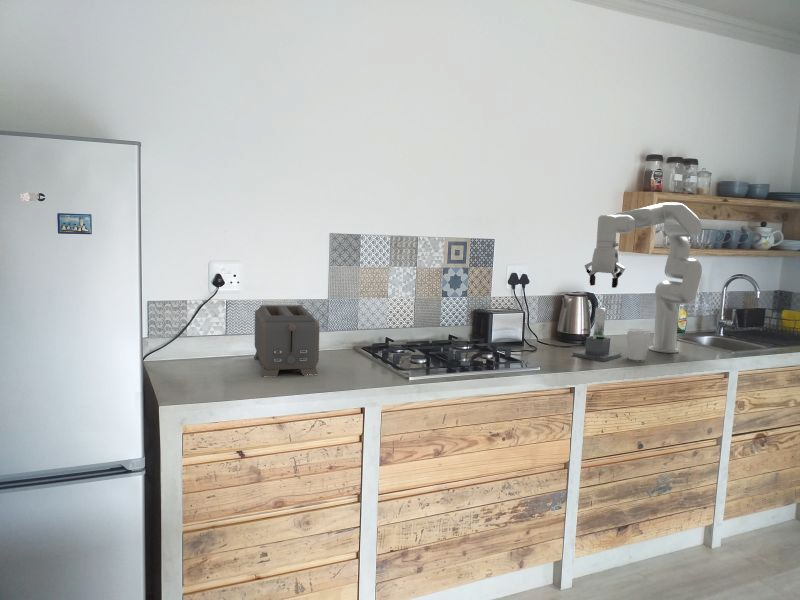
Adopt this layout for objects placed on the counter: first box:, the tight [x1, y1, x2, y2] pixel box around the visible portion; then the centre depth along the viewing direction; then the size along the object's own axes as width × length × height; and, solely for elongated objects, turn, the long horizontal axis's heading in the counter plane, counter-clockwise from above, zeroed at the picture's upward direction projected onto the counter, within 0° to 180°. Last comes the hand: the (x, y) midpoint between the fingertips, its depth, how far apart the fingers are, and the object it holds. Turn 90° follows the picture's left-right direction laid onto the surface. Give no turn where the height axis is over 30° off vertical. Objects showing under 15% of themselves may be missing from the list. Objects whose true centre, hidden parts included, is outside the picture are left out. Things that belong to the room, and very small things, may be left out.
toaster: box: [253, 304, 320, 378], centre depth 232 cm, size 19×35×20 cm, turn 17°
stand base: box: [572, 335, 622, 363], centre depth 275 cm, size 16×14×9 cm
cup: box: [626, 328, 651, 361], centre depth 273 cm, size 9×9×12 cm
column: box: [592, 307, 607, 339], centre depth 273 cm, size 4×4×13 cm
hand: (603, 286), depth 272 cm, fingers open, 9 cm apart
